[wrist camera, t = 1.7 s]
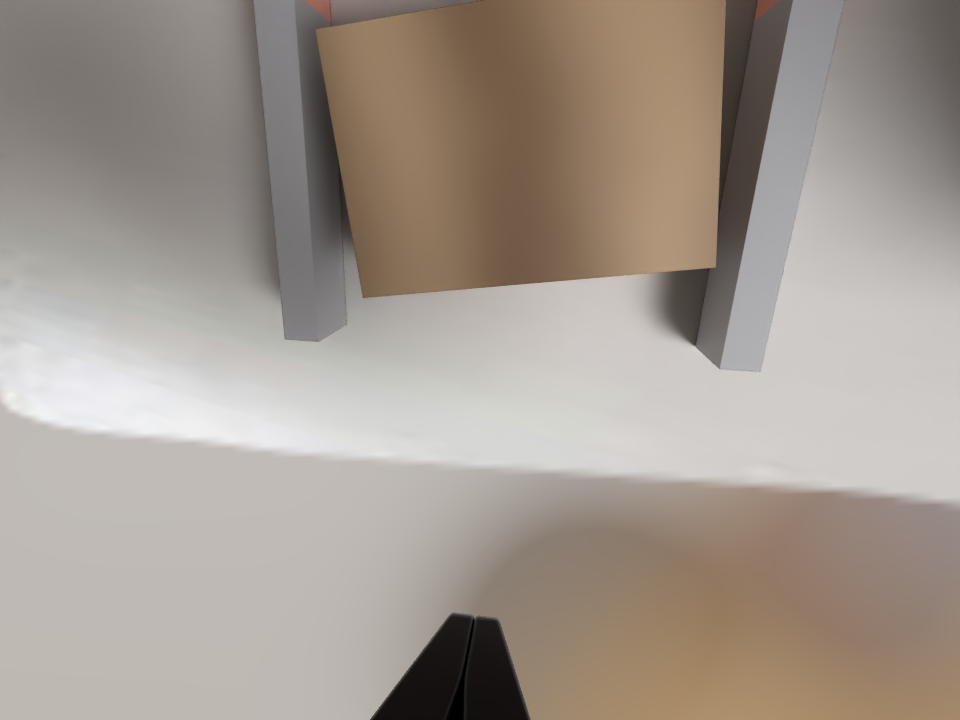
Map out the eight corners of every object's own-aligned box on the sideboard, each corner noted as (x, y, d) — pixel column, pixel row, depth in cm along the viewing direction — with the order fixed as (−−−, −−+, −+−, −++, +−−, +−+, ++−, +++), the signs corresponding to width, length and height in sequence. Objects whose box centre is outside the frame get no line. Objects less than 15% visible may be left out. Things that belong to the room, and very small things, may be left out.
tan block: (680, 20, 15) (727, -42, 11) (677, 252, 17) (716, 267, 13) (367, 69, 16) (315, 29, 13) (400, 278, 18) (363, 297, 15)
